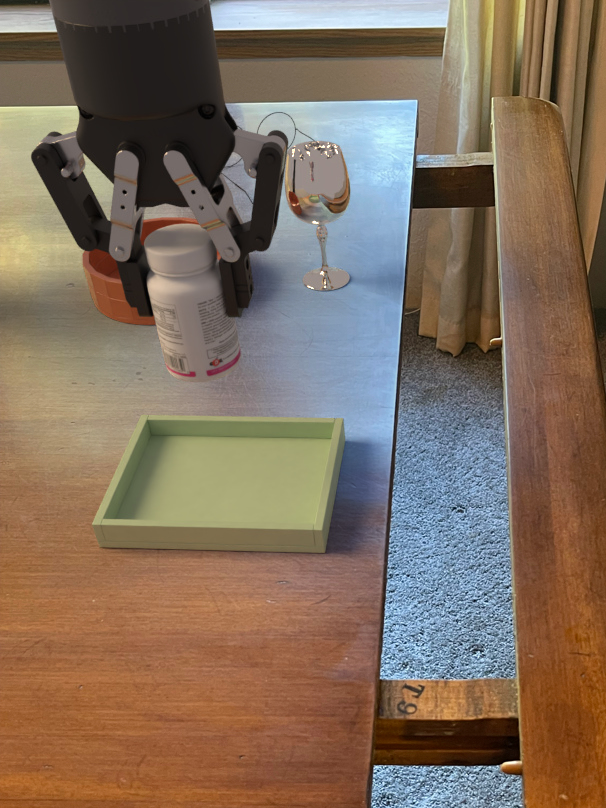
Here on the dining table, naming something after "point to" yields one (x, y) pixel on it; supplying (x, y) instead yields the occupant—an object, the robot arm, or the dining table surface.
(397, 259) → the dining table surface
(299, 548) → the tray
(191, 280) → the pill bottle
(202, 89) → the robot arm
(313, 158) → the wineglass
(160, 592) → the dining table surface
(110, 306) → the bowl
